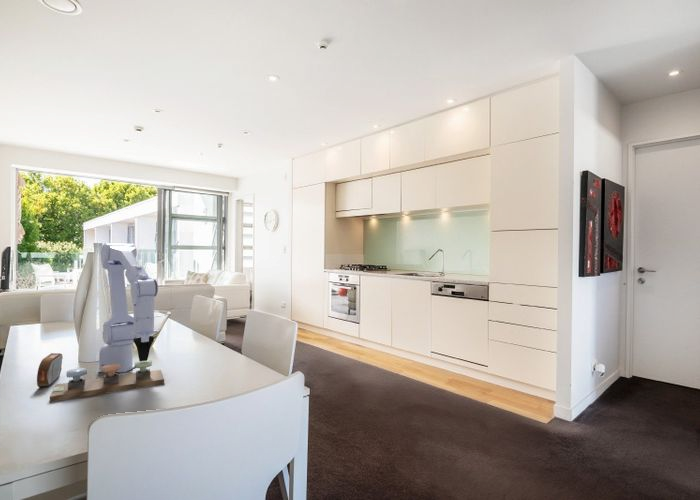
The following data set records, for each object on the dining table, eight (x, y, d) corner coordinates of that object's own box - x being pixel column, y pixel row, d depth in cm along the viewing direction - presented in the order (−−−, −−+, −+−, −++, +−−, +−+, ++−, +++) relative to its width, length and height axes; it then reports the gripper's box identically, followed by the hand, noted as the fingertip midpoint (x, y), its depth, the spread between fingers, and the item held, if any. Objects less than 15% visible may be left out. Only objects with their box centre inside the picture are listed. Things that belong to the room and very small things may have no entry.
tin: (52, 375, 124) (52, 350, 124) (63, 374, 125) (64, 349, 125) (35, 391, 110) (35, 362, 110) (48, 389, 111) (48, 361, 111)
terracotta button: (101, 379, 110) (101, 369, 110) (102, 375, 114) (102, 365, 115) (120, 377, 113) (120, 367, 113) (120, 372, 117) (120, 363, 117)
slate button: (65, 384, 106) (65, 374, 106) (67, 380, 110) (67, 369, 110) (86, 381, 108) (86, 371, 108) (87, 377, 113) (87, 367, 113)
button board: (49, 402, 102) (49, 389, 102) (55, 389, 111) (55, 378, 111) (164, 383, 116) (164, 373, 116) (160, 374, 126) (160, 364, 126)
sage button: (134, 375, 115) (134, 365, 115) (134, 370, 119) (134, 361, 119) (152, 372, 117) (152, 362, 117) (151, 368, 122) (151, 359, 122)
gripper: (160, 319, 114) (159, 364, 114) (156, 313, 127) (155, 353, 127) (133, 321, 111) (132, 368, 110) (131, 315, 123) (131, 356, 123)
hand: (143, 360), depth 118 cm, fingers closed
